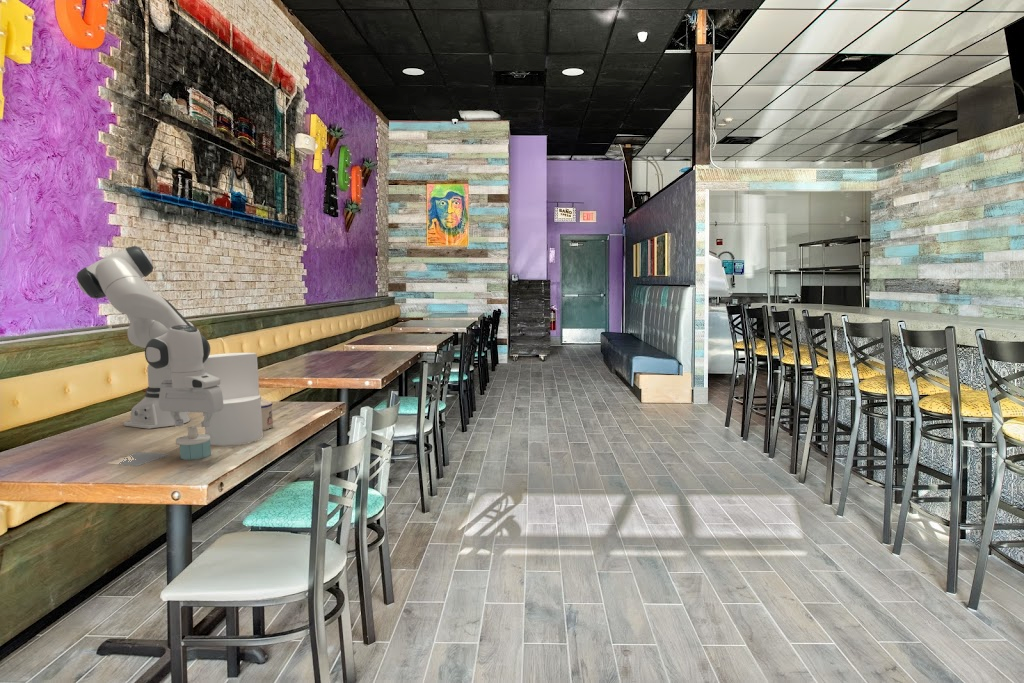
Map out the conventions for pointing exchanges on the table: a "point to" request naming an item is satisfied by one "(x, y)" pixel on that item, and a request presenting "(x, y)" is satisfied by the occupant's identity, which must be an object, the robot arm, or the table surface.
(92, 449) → the table surface
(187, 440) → the lid
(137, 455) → the mat
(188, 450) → the cup
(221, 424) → the cylinder
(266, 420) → the teacup with lid
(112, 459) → the table surface
